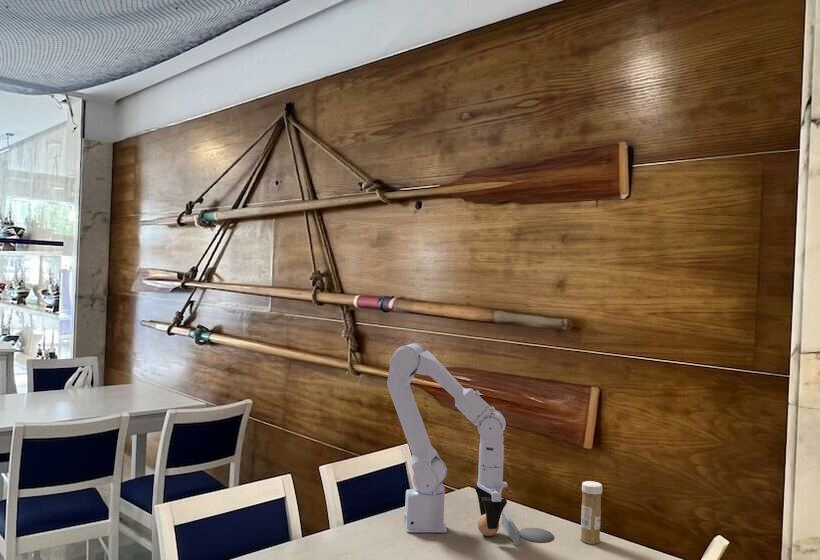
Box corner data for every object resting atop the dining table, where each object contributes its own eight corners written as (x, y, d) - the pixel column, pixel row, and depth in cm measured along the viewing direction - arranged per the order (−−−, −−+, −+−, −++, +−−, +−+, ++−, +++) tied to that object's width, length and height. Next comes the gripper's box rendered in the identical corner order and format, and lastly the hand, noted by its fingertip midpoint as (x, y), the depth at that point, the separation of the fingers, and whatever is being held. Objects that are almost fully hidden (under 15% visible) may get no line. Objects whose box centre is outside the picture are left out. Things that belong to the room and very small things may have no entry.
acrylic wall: (514, 544, 150) (515, 531, 150) (501, 523, 163) (502, 511, 163) (519, 544, 150) (519, 531, 150) (505, 523, 163) (506, 511, 163)
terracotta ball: (479, 539, 152) (480, 517, 152) (475, 531, 157) (476, 510, 157) (500, 539, 153) (501, 518, 153) (496, 531, 158) (497, 510, 158)
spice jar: (603, 544, 152) (605, 486, 152) (584, 545, 152) (586, 486, 152) (595, 536, 157) (597, 480, 157) (576, 537, 156) (579, 480, 156)
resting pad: (523, 542, 152) (523, 541, 152) (515, 528, 160) (515, 527, 160) (557, 542, 153) (557, 541, 153) (547, 529, 161) (547, 527, 161)
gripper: (515, 473, 148) (513, 534, 148) (500, 455, 163) (498, 511, 163) (484, 473, 148) (482, 534, 148) (472, 455, 162) (470, 511, 162)
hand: (488, 522), depth 155 cm, fingers open, 7 cm apart
